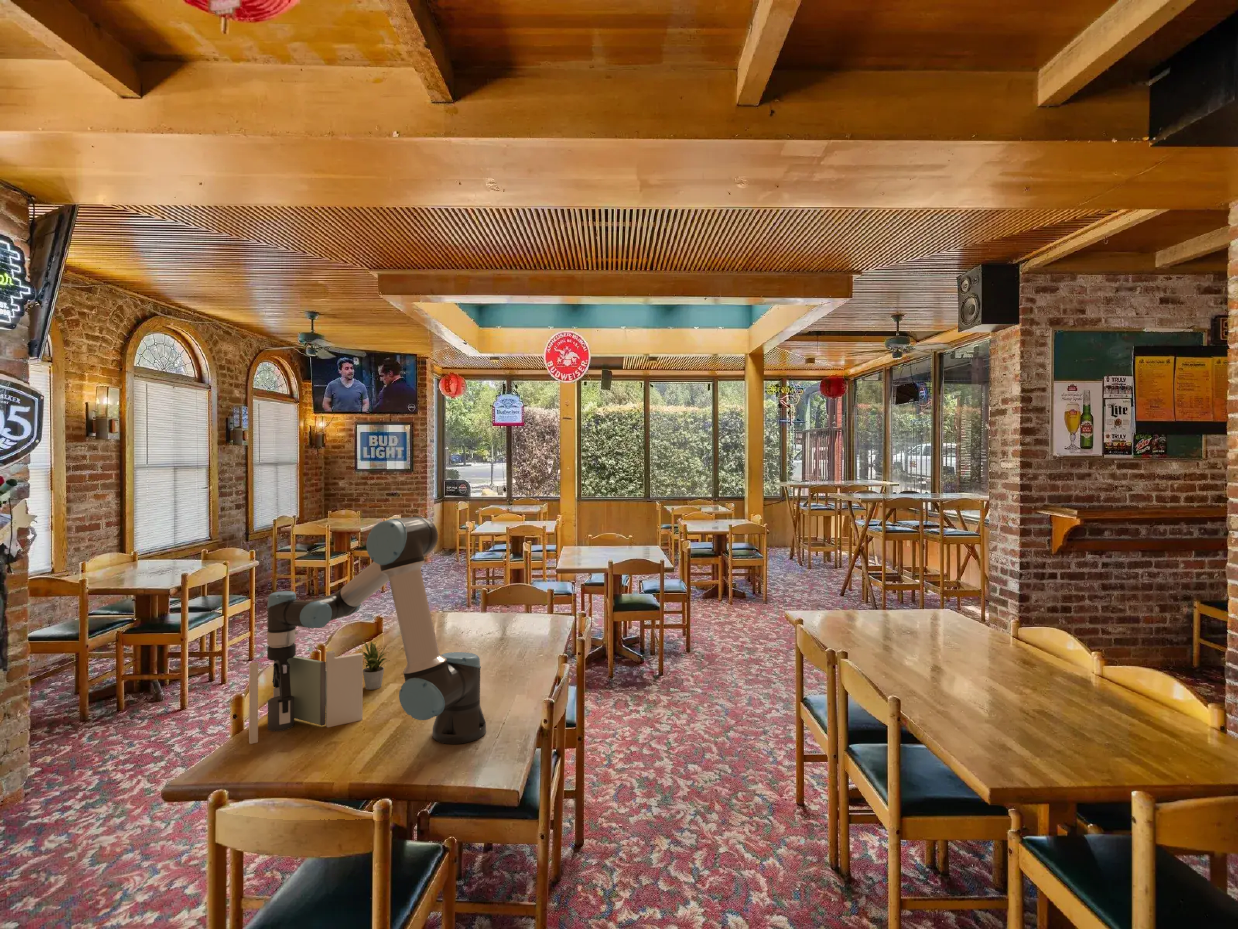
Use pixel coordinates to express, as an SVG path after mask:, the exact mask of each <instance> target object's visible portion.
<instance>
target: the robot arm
mask: <svg viewBox="0 0 1238 929" xmlns="http://www.w3.org/2000/svg"><path fill="white" fill-rule="evenodd" d="M438 539H439V533H438V528H437V527H436V525H435V524H434V523H433V521H432V520H430V519H428V518H426V517H424V516H418V515H416V516H410V517H399V518H398V517H397V518H389V519H386V520H383V521H380V522H378V523H376V524H375V525H374V526H373V527H372V528H371V530H370V532H369V533H368V535H367V538H366V544H365V545H366V551H367V554H368V557H369V558H370V559H371V560H372V562H371V563H370V564H369V565H368V566H366V567H365V568H364V569H363V570H362V571H360V572H359V573H358V574H357V575H355V577H353V578H352V579H351V580H350V581H349V582H347V583H346V584H344V585H343V586H342V588H340V589H339V590H338V591H336V592H334V593H333V594H330V595H326V596H322V597H319V598H314V599H310V600H301V599H300V600H299V599H297V594H296V592H295V591H293V590H282V591H275V592H272V593H270V594H269V595H268V597H267V605H266V606H267V607H266V609H267V610H266V611H267V612H266V613H267V615H266V618H267V620H266V621H267V624H266V625H267V630H266V633H267V634H266V644H267V645H268V646H267V650H266V651H267V652H266V653H267V656H266V658H267V659H268V660H269V661H273V666H272V667H273V671H272V672H273V673H272V686H273V688H272V689H273V693H272V694H273V696H272V698H274V697H277V696H280V700H278V701H277V702H278V703H279V724H280V725H281V724H285V723H290V700H291V699H292V697H291V687H290V664H289V662H287V660H288V659H289V658H292V657H294V656H297V655H296V654H297V652H296V650H297V647H296V646H297V644H296V643H295V642H296V641H297V639H296V637H297V636H296V635H298V633H299V631H298V630H296V629H297V627H300V628H307V629H323V628H324V627H326V626H327V625H328V624H329V623H330V622H331V621H334V620H338V619H341V618H344V617H349V616H351V615H352V614H355V613H357V612H358V611H359V610H360V608H361V606H362V604H363V602H365V601H366V600H368V598H370V597H372V595H374V594H375V593H376V592H377V591H378V590H380V589H381V588H382V587H383V586H385V585H386V584H388V582H389V584H390V585H389V586H390V590H391V596H392V599H393V600H392V601H393V603H394V604H393V605H394V608H395V612H396V619H397V622H398V626H399V631H400V635H401V640H402V641H401V642H402V644H403V649H404V654H405V657H406V663H407V664H406V666H405V667H404V670H402V673H403V674H402V675H403V679H404V683H402V685H401V686H400V689H399V693H398V694H399V695H398V698H399V700H398V701H399V703H400V706H401V707H402V709H403V711H404V713H406V714H407V715H408V716H410V717H411V718H412V719H414V720H417V721H427V720H431V719H433V718H435V719H434V722H433V725H432V739H433V740H434V741H435V742H438V743H441V744H447V745H458V744H459V745H460V744H467V743H470V742H473V741H474V742H475V741H477V740H479V739H480V738H482V737H483V736H484V735H485V734H486V733H487V723H486V722H487V721H486V719H485V716H484V713H483V710H482V708H481V668H482V667H481V659H480V656H479V655H478V654H475V653H473V652H466V651H465V652H463V651H461V652H460V651H453V652H446V653H442V654H440V650H439V644H438V641H437V637H436V632H435V628H434V623H433V619H432V614H431V609H430V605H429V600H428V597H427V591H426V587H425V582H424V579H423V574H422V570H421V568H422V567H423V565H424V564H425V557H427V556H428V555H429V554H430V553H431V552H432V551H434V549H435V548H436V546H437V544H438ZM284 696H287V697H284Z"/></svg>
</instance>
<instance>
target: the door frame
mask: <svg viewBox="0 0 1238 929" xmlns="http://www.w3.org/2000/svg"><path fill="white" fill-rule="evenodd" d="M362 653H363V652H360V653H359V652H358V653H352V654H347V655H339V656H335V654H336V651H334V650H330V651H326V652H325V662H326V724H325V726H326V728H331V727H335V726H341V725H345V724H351V723H355V722H359V721H363V718H364V717H363V716H364V714H363V706H364V705H363V702H364V700H363V698H364V697H363V696H364V694H363V691H364V687H363V686H364V684H363V681H364V676H363V667H364V665H363V663H364V658H363V656H364V653H363V654H362ZM248 667H249V668H248V670H249V671H248V672H249V673H248V674H249V675H248V680H249V682H248V686H249V687H248V690H249V691H248V693H249V695H248V698H249V699H248V743H249V745H252V744H257V743H259V662H258V661H257V662H252V663H251V662H250V663H249V665H248Z"/></svg>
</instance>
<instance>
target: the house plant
mask: <svg viewBox="0 0 1238 929" xmlns="http://www.w3.org/2000/svg"><path fill="white" fill-rule="evenodd" d="M361 642H362V643H363V644H364V646H365V649H366V651H367V652H366V651H363V650H359V652H358V653H362V654H363V656H364V657H363V659H364V660H366V661H364V662H363V663H364V664H363V667H365V668H364V669H363V681H364V685H365V686H364V687H365V690H369V691H370V690H371V691H372V690H373V691H374V690H377V689H380V688H381V687H382V684H383V678H384V673H385V667H384V666H383V665H384V664H385V663H386V662H391V659H390V660H387V658H382V657H384V656H385V653H384V652H385V651H384V650H385V649H386V647H387V645H388V644H386V645H385V647H384V648H383V650H382V651H381V652H380V654H379V650H377V647H376V645H377V642H376V643H373V641H370V644H369V646H368V644H367V643H366V642H365V641H362V640H361ZM392 647H393V645H392V646H390V647H388V649H389V648H392ZM351 648H352V649H353V648H354V649H355V647H352V646H351V647H350V649H351ZM385 660H386V661H385ZM383 661H385V662H383Z"/></svg>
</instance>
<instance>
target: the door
mask: <svg viewBox="0 0 1238 929" xmlns="http://www.w3.org/2000/svg"><path fill="white" fill-rule="evenodd" d="M287 662H289V664H290V687H291V696H294V720H296V719H297V720H299V721H303V722H307V723H311V724H315V725H319V726H326V661H322V660H317V659H312V658H307V657H303V656H299V655H298V656H297V655H295V656H294V657H292V658H289V659H288V660H287Z"/></svg>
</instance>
